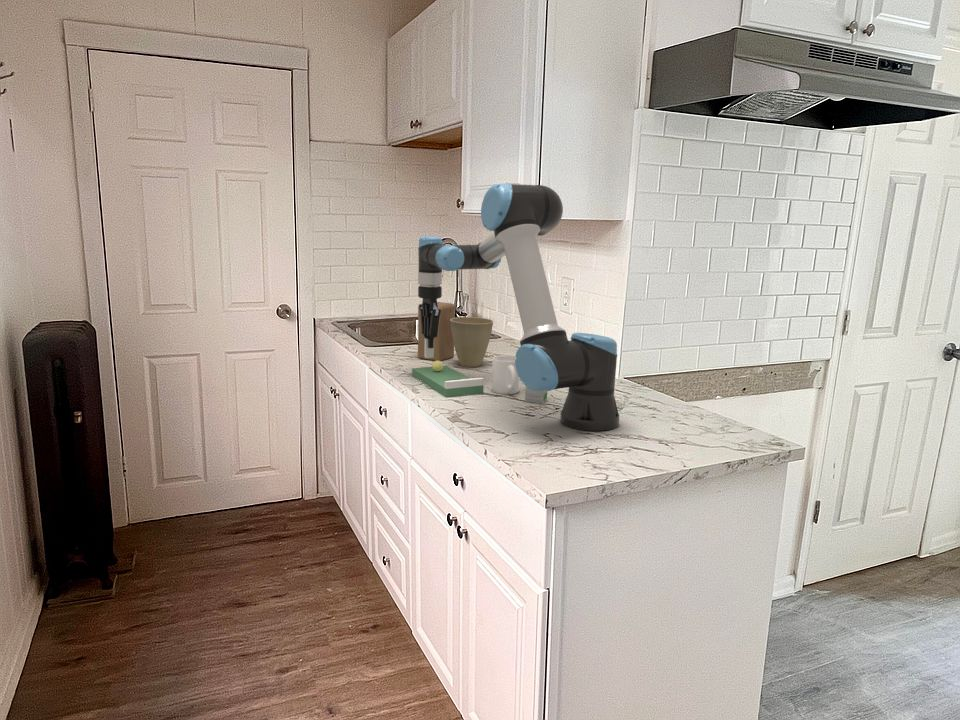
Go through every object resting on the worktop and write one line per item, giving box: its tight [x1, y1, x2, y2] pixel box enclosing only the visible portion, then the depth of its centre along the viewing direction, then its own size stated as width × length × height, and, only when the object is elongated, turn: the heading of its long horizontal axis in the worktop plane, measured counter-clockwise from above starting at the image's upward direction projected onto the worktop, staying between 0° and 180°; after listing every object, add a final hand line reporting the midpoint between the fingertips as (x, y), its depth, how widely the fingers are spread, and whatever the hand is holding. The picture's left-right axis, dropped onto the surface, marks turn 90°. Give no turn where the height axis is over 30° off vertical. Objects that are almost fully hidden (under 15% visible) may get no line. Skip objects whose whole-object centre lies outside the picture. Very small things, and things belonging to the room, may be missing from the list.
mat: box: [411, 365, 485, 398], centre depth 216 cm, size 28×12×4 cm, turn 26°
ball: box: [431, 360, 444, 372], centre depth 222 cm, size 4×4×4 cm
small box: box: [523, 385, 548, 404], centre depth 201 cm, size 6×6×5 cm
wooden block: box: [417, 301, 456, 362], centre depth 252 cm, size 10×10×20 cm
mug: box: [491, 354, 520, 396], centre depth 207 cm, size 12×8×10 cm
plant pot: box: [450, 316, 494, 368], centre depth 242 cm, size 15×15×16 cm
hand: (429, 357), depth 228 cm, fingers closed
